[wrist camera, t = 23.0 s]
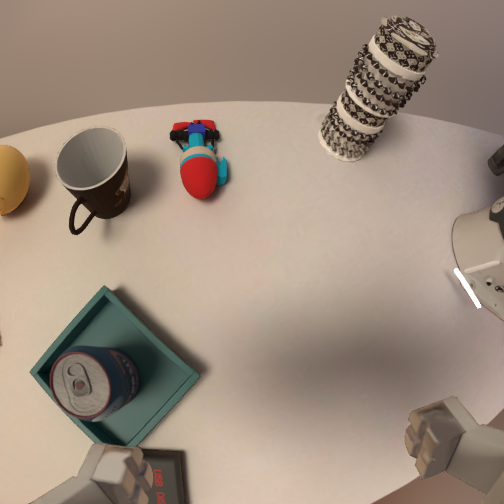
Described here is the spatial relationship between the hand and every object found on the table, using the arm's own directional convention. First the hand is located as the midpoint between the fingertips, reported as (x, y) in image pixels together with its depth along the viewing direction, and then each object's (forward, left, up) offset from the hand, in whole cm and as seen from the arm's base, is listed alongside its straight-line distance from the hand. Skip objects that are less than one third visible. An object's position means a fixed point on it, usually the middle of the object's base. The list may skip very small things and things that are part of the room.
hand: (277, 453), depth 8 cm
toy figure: (+21, -20, -29) cm, 41 cm away
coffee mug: (+26, -6, -29) cm, 40 cm away
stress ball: (+39, +3, -29) cm, 49 cm away
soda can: (+9, +8, -29) cm, 31 cm away
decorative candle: (+8, -40, -29) cm, 50 cm away
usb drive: (-5, +16, -29) cm, 34 cm away
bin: (+9, +8, -29) cm, 32 cm away
